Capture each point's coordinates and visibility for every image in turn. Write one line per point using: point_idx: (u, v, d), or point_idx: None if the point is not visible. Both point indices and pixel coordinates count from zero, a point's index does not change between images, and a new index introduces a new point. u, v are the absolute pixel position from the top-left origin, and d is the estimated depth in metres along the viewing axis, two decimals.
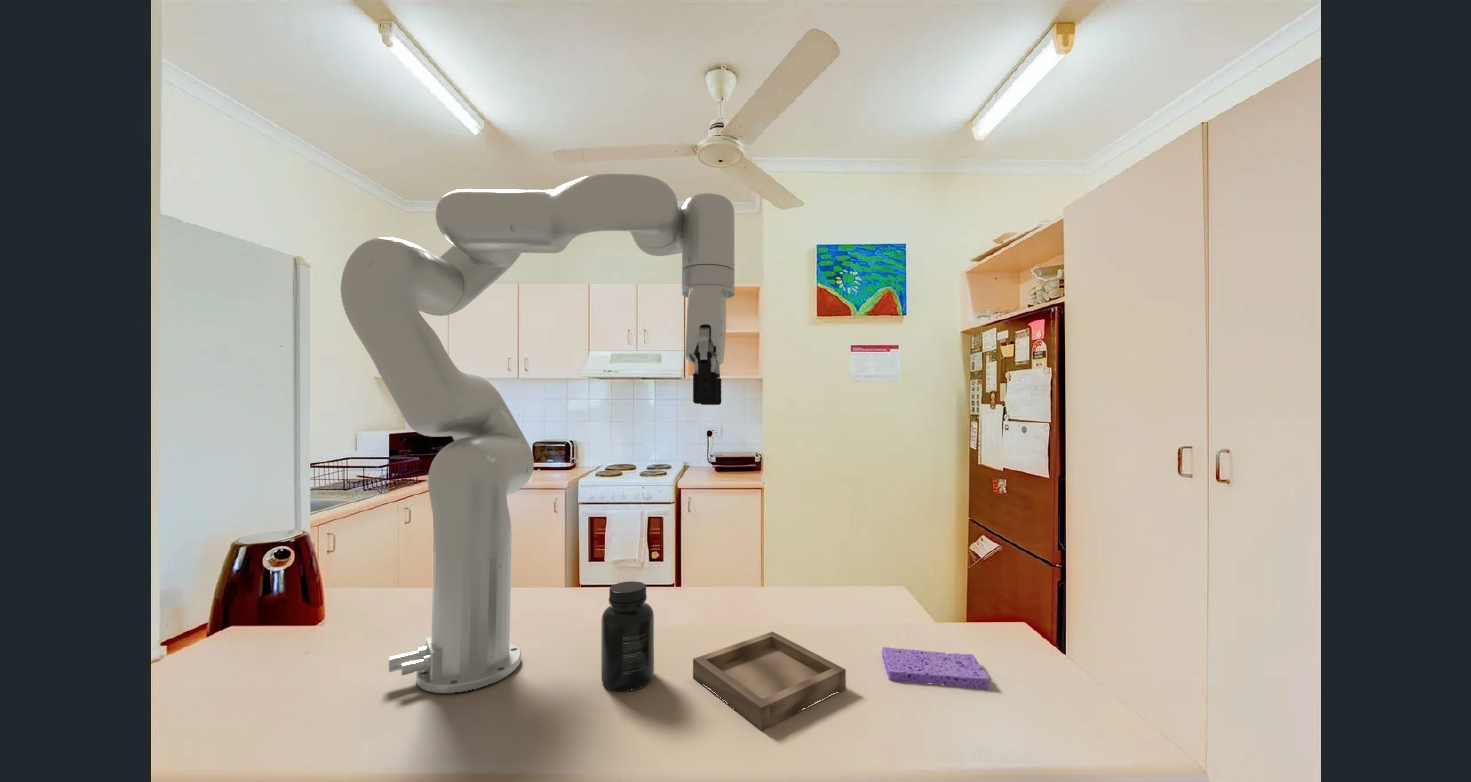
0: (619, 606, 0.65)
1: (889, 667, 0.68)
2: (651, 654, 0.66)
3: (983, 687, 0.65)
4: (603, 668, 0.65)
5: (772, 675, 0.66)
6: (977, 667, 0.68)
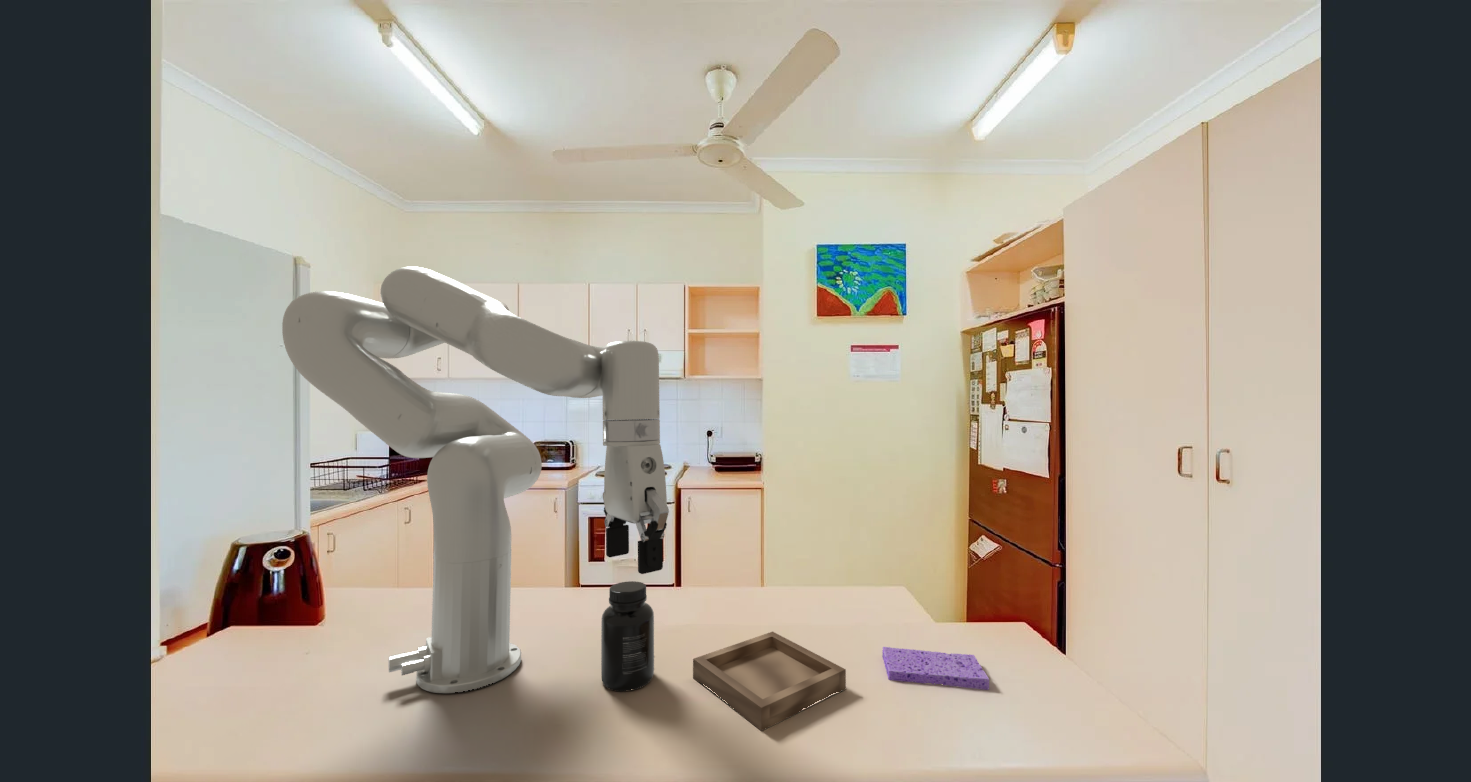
0: (619, 606, 0.65)
1: (889, 667, 0.68)
2: (651, 654, 0.66)
3: (983, 687, 0.65)
4: (603, 668, 0.65)
5: (772, 675, 0.66)
6: (977, 667, 0.68)
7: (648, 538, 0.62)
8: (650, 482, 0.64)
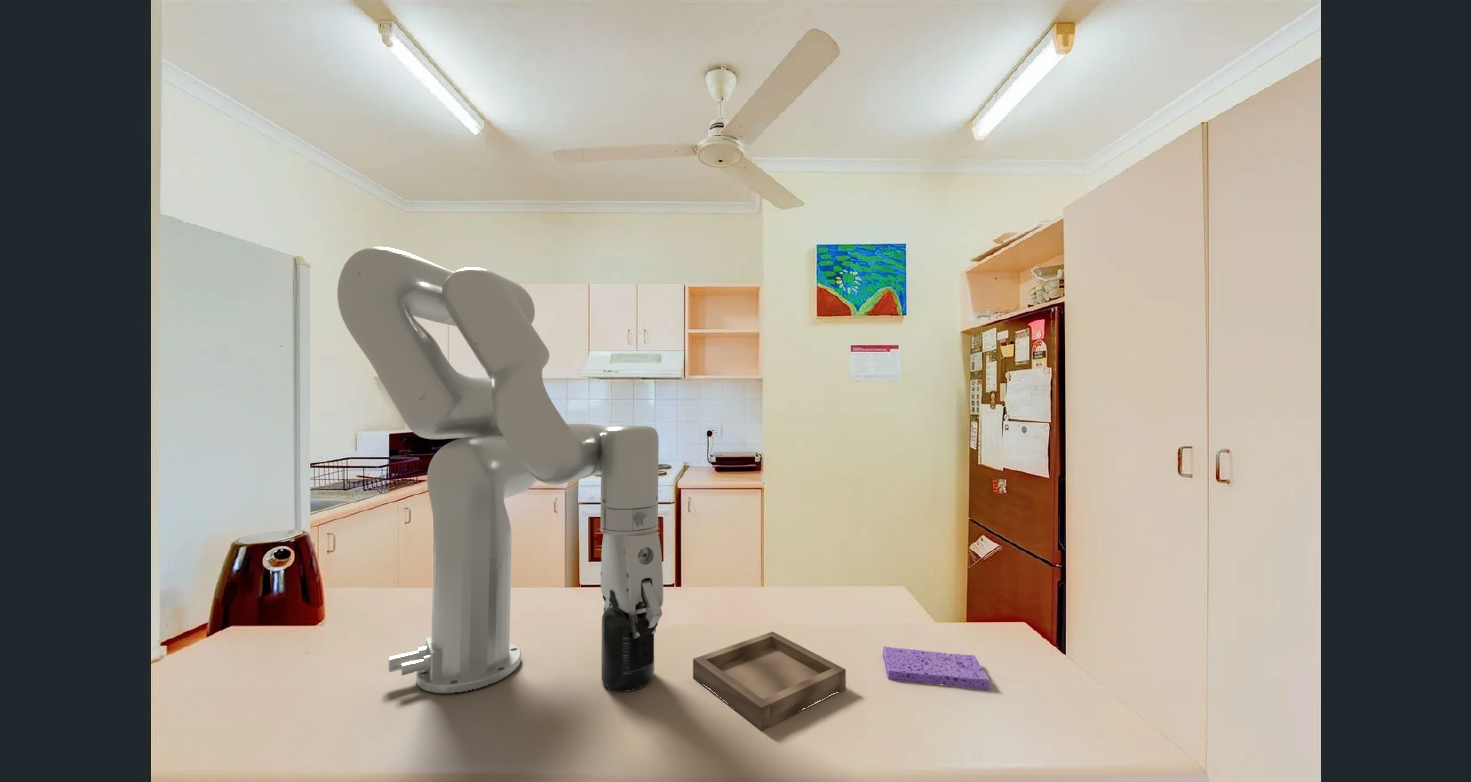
0: None
1: (888, 666, 0.68)
2: None
3: (983, 688, 0.65)
4: (603, 668, 0.65)
5: (772, 675, 0.66)
6: (977, 668, 0.68)
7: (639, 635, 0.63)
8: (647, 573, 0.64)
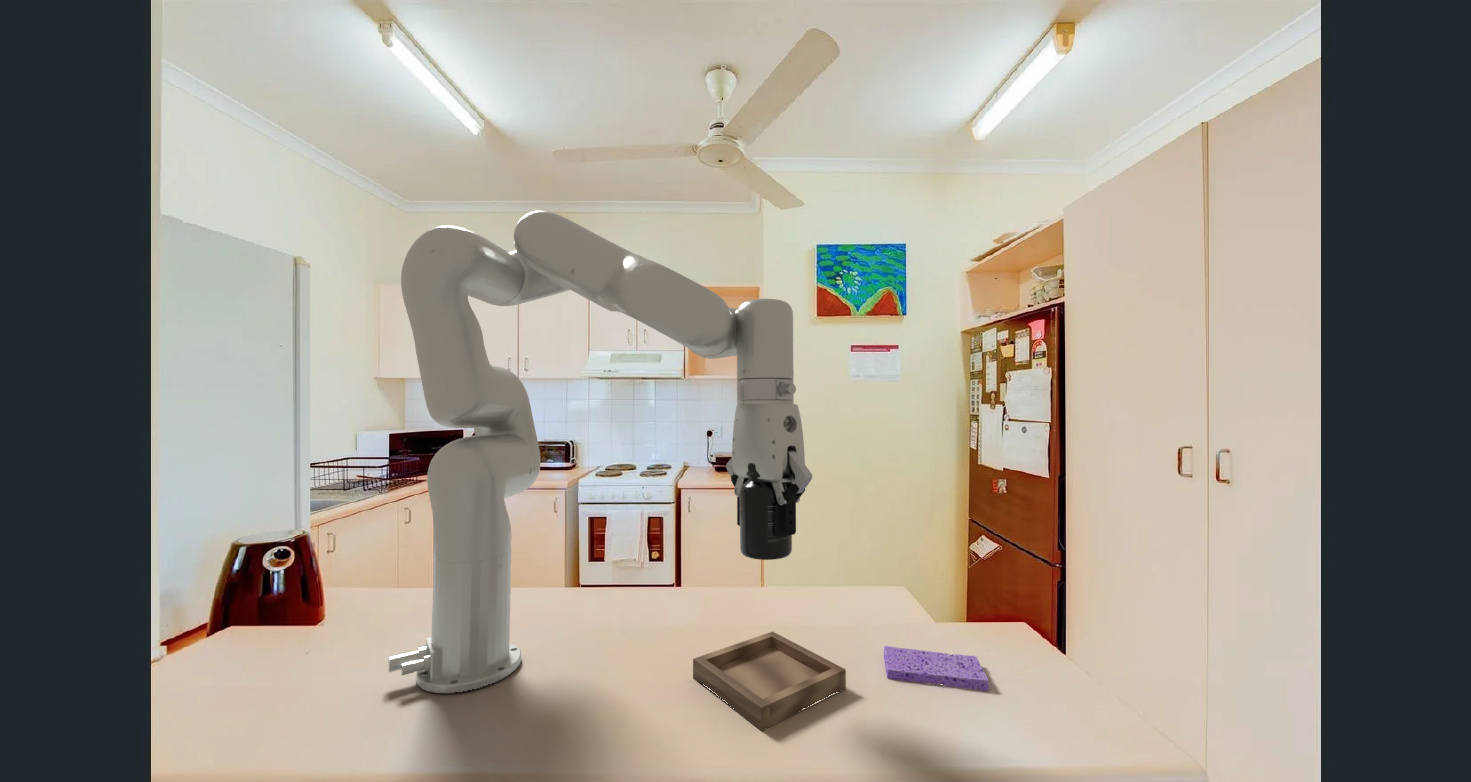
0: None
1: (888, 665, 0.68)
2: None
3: (982, 689, 0.64)
4: (745, 539, 0.65)
5: (772, 675, 0.66)
6: (978, 669, 0.67)
7: (786, 501, 0.62)
8: (792, 441, 0.63)
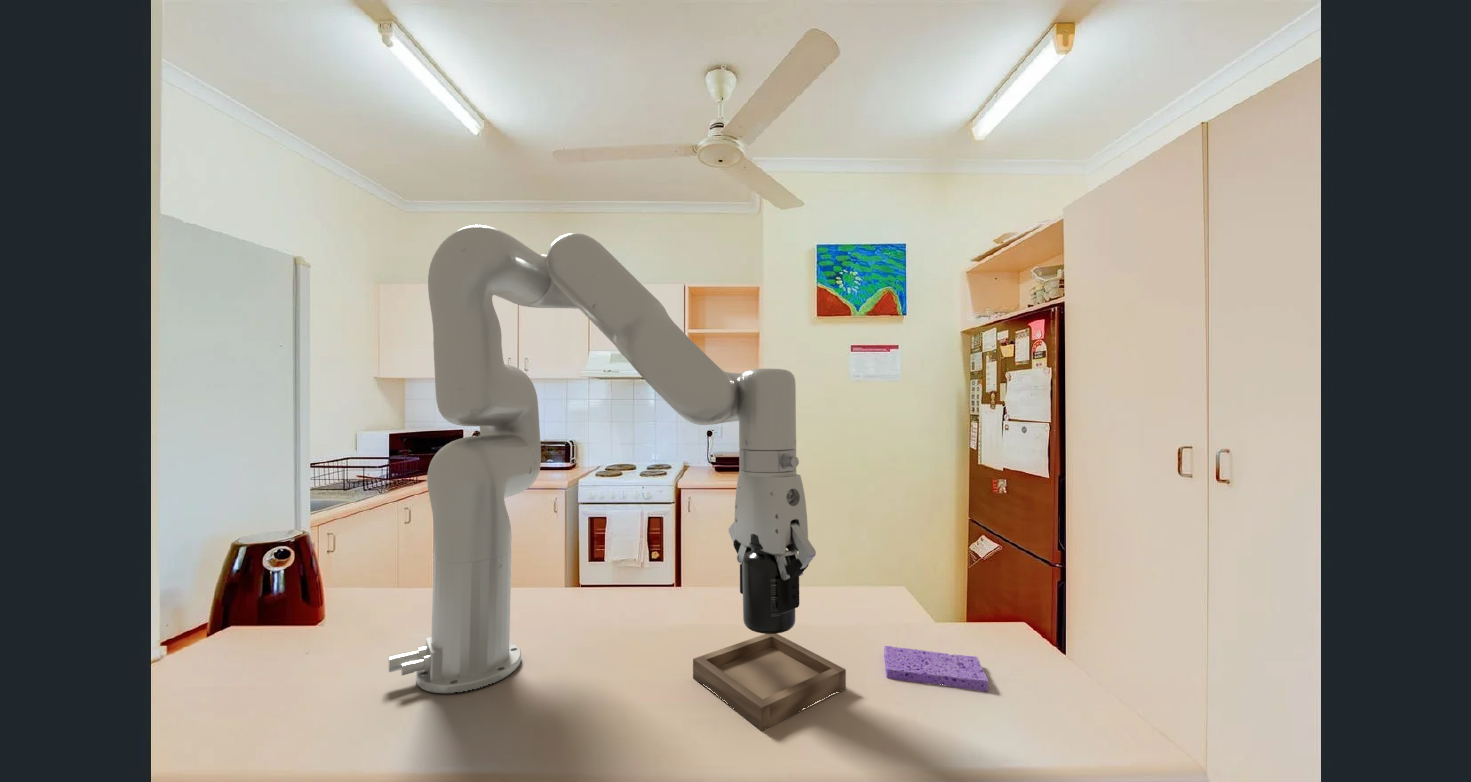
0: None
1: (887, 665, 0.68)
2: None
3: (982, 689, 0.64)
4: (748, 611, 0.64)
5: (772, 675, 0.66)
6: (978, 669, 0.67)
7: (790, 576, 0.62)
8: (795, 514, 0.63)
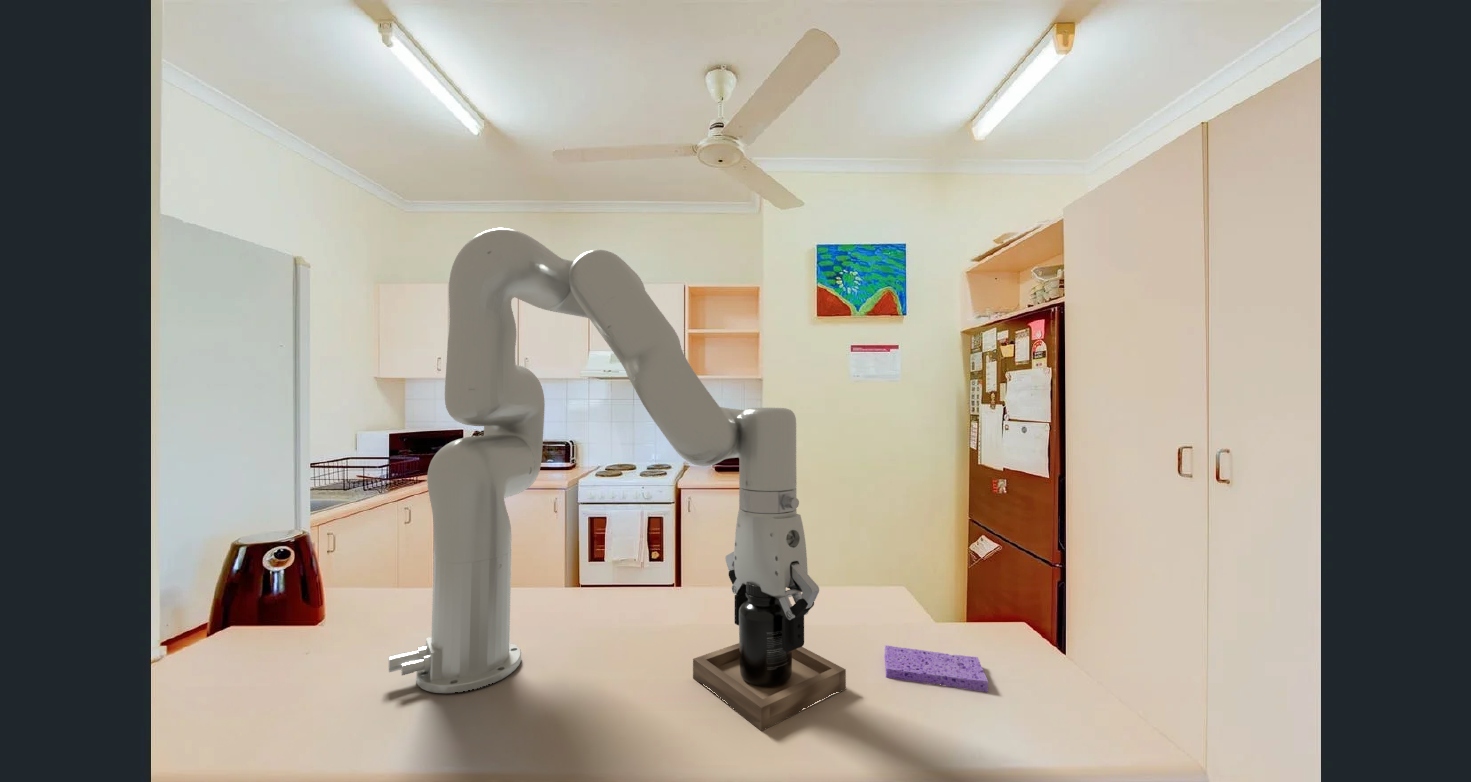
0: (760, 600, 0.64)
1: (887, 664, 0.69)
2: None
3: (981, 689, 0.64)
4: (744, 663, 0.64)
5: None
6: (978, 670, 0.67)
7: (795, 616, 0.61)
8: (794, 556, 0.63)
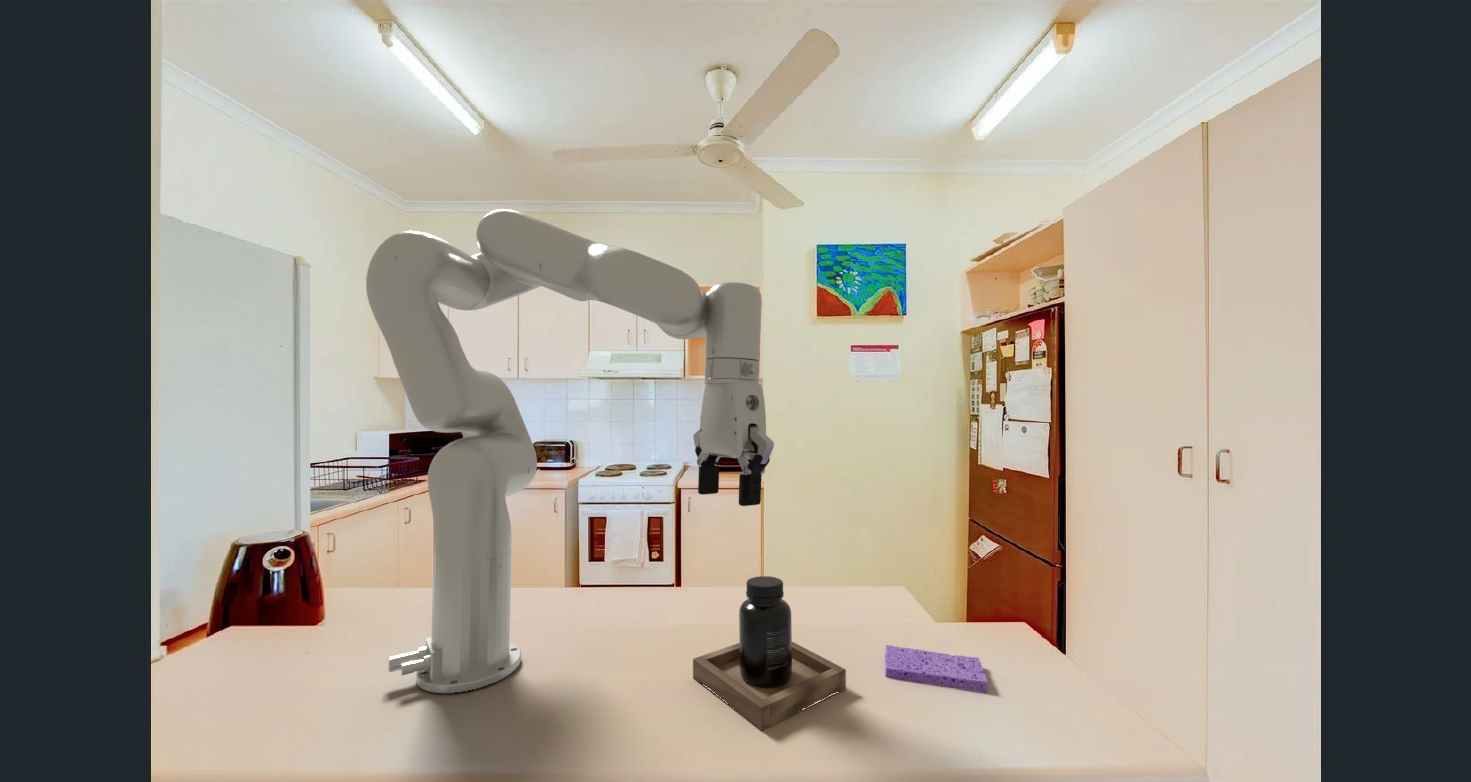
0: (760, 601, 0.64)
1: (887, 664, 0.69)
2: (791, 650, 0.65)
3: (981, 690, 0.64)
4: (744, 663, 0.64)
5: None
6: (978, 670, 0.67)
7: (751, 471, 0.64)
8: (753, 419, 0.66)
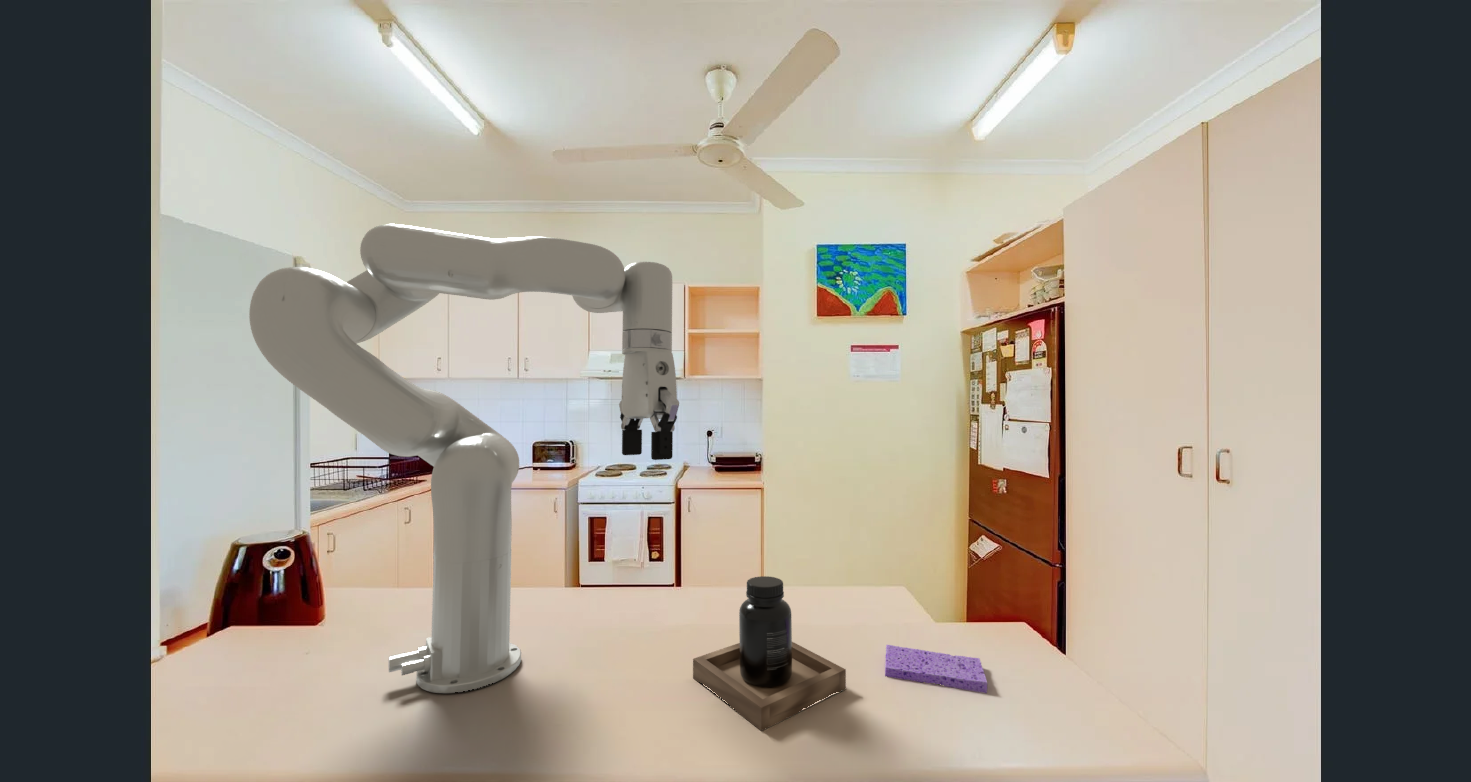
0: (760, 601, 0.64)
1: (886, 663, 0.69)
2: (791, 650, 0.65)
3: (980, 690, 0.64)
4: (744, 664, 0.64)
5: None
6: (978, 671, 0.67)
7: (661, 428, 0.72)
8: (663, 382, 0.74)
